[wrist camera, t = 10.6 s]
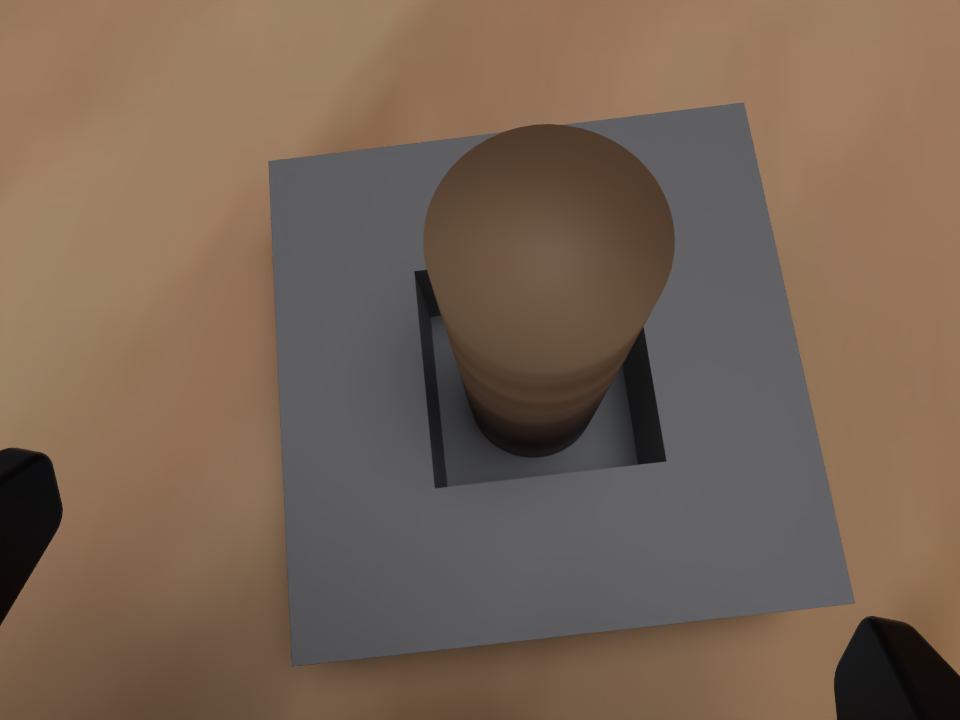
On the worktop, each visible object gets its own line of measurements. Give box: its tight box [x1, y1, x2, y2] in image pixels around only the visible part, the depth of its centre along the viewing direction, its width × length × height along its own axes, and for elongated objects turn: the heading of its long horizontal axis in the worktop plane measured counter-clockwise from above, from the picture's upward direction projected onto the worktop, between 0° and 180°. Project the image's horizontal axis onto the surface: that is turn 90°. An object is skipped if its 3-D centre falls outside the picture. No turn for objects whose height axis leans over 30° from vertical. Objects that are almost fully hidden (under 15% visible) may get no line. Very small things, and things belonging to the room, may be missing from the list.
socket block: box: [268, 103, 855, 667], centre depth 20 cm, size 12×12×4 cm
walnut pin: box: [423, 124, 675, 458], centre depth 16 cm, size 4×4×11 cm
